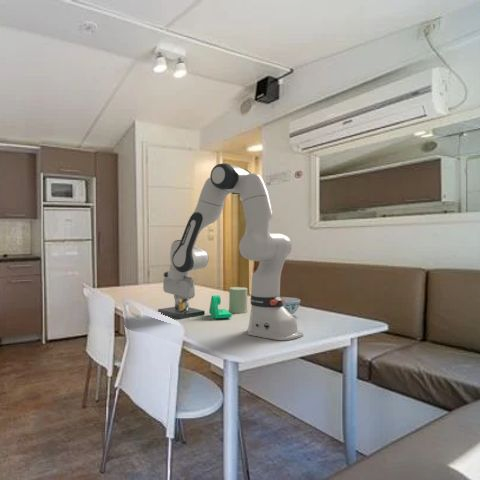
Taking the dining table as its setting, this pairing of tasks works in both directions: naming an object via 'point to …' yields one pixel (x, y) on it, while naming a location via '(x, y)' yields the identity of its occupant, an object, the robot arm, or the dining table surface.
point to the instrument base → (181, 312)
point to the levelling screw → (184, 304)
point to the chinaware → (291, 304)
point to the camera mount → (214, 308)
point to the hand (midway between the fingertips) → (178, 305)
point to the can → (238, 300)
